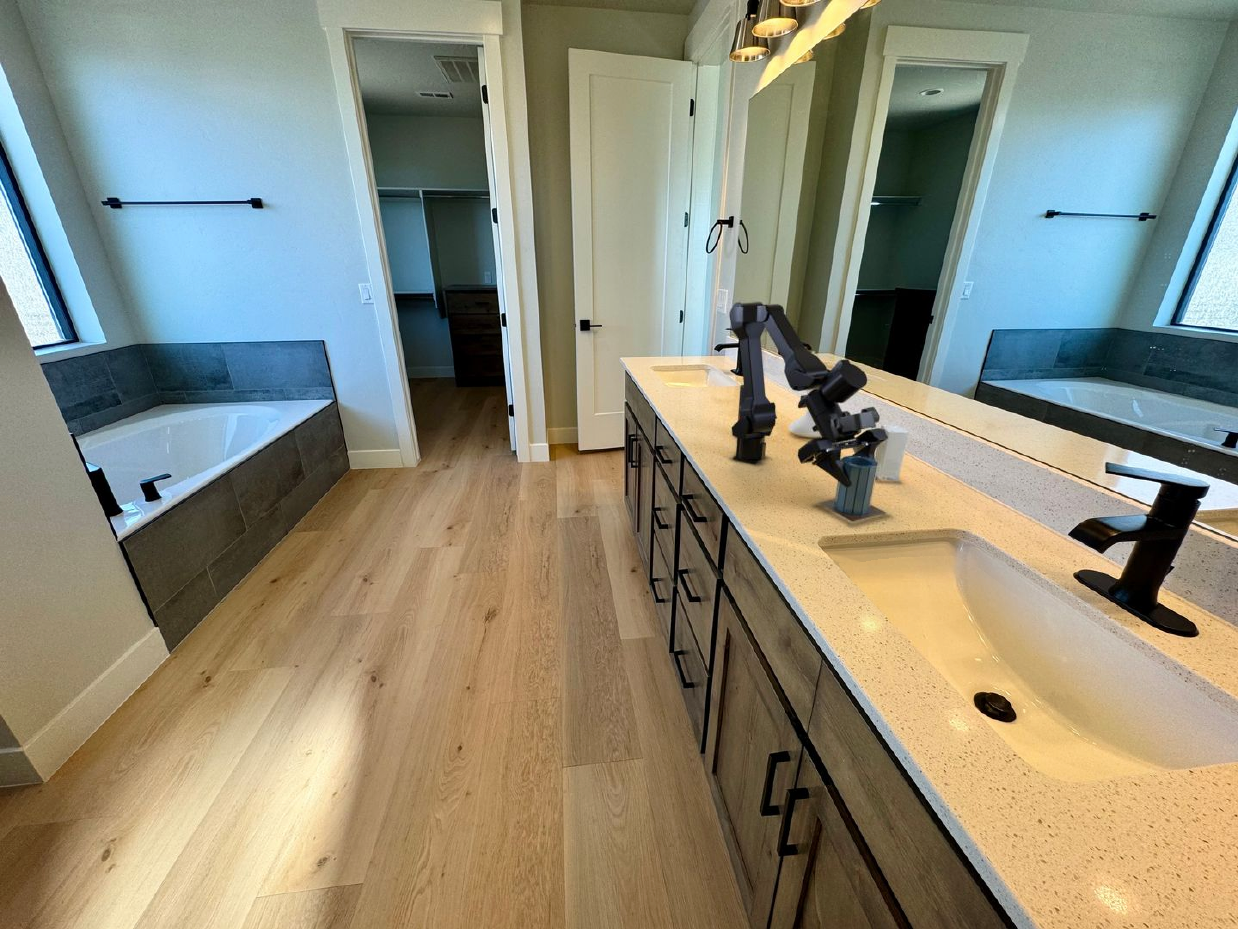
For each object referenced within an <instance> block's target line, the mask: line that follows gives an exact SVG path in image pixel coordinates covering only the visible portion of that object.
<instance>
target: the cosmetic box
mask: <svg viewBox="0 0 1238 929" xmlns="http://www.w3.org/2000/svg"><path fill="white" fill-rule="evenodd" d="M880 429H883V430H884V431H885V432H886V434H887V436H888V439H887V440H885V441H884V442H882V443H881V444H880V445H879V446H877V448H876V450H875V461H876V462H877V463H878V469H877V474H876V476H877V479H879V480H888V481H892V482H897V483H898V482H899V480H900V475H901V470H902V465H903V461H904V456H905V452H906V451H905V450H906V447H907V443H908V436H909V432H908V431H906V430H905V428H903V427H902V426H901V425H892V424H891V425H890V424H881V425H880Z"/></svg>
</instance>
